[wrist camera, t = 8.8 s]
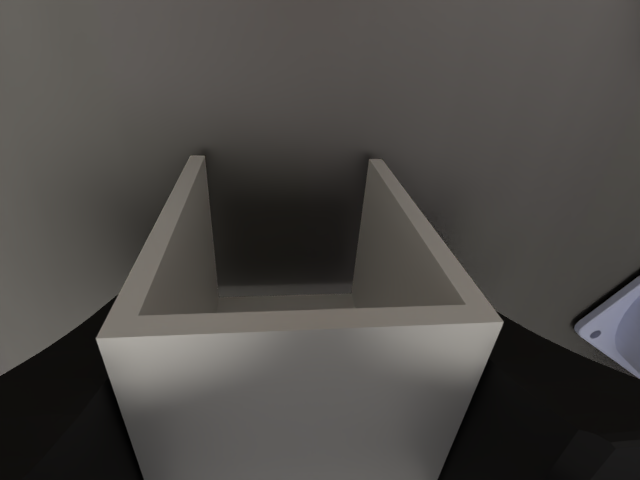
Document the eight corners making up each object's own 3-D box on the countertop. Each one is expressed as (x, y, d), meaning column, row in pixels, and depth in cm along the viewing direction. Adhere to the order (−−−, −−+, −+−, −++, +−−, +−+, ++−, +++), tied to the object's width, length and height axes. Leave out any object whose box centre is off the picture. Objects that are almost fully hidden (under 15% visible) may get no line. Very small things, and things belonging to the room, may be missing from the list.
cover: (382, 159, 11) (504, 321, 6) (360, 301, 14) (425, 507, 8) (190, 155, 11) (95, 339, 5) (208, 306, 14) (163, 536, 8)
